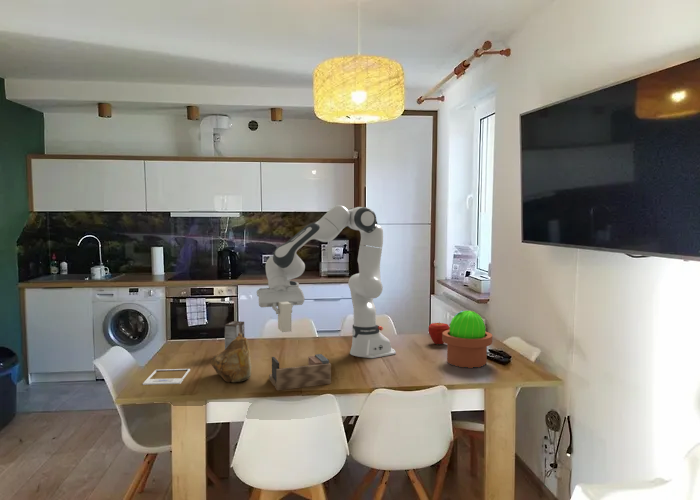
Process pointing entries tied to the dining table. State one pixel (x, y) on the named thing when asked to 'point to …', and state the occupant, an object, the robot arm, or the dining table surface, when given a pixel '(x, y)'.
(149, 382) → the photo frame
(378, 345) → the robot arm
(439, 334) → the apple
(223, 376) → the rough brown rock
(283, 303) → the white rectangular block
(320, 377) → the shelf
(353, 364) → the dining table surface
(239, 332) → the coffee box
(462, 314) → the potted cactus
